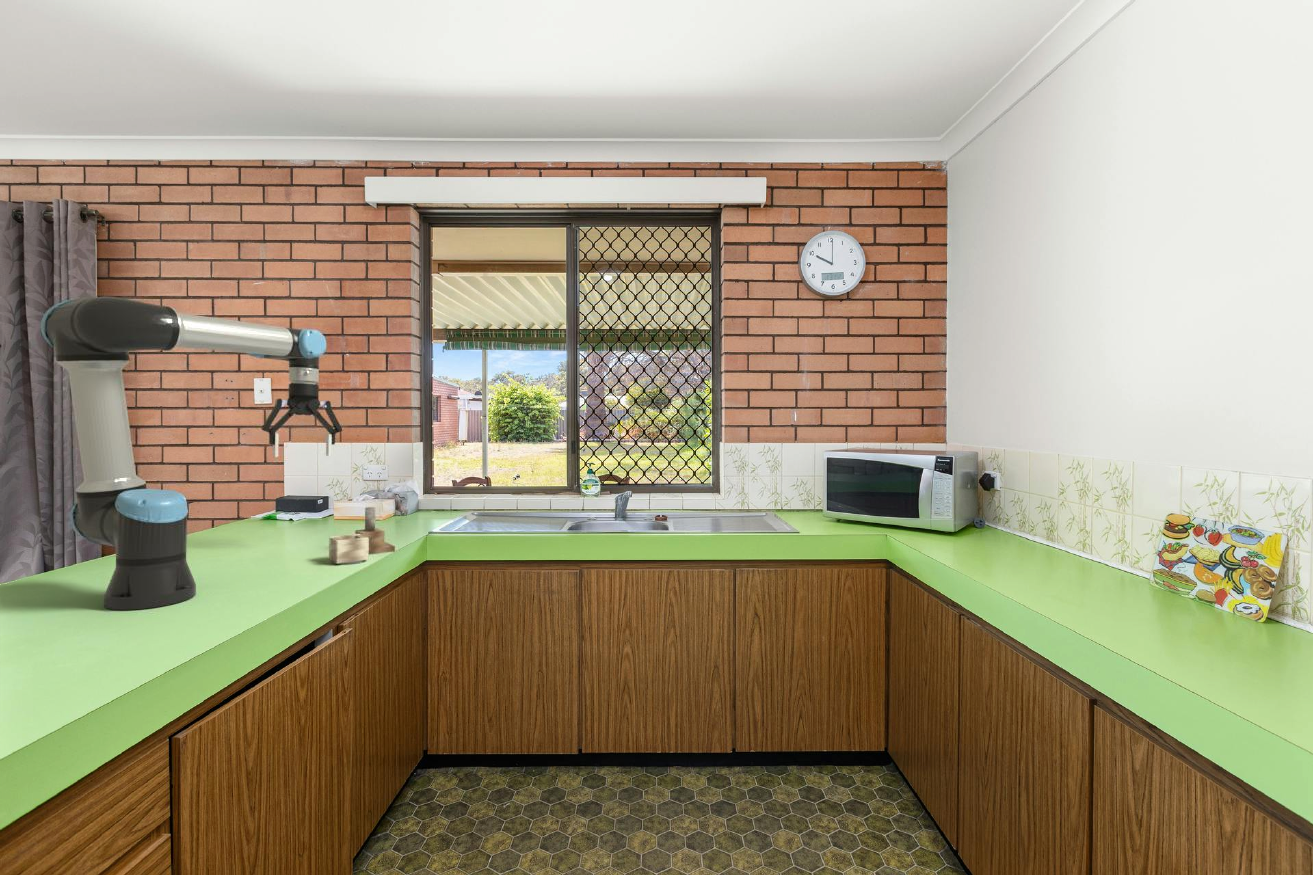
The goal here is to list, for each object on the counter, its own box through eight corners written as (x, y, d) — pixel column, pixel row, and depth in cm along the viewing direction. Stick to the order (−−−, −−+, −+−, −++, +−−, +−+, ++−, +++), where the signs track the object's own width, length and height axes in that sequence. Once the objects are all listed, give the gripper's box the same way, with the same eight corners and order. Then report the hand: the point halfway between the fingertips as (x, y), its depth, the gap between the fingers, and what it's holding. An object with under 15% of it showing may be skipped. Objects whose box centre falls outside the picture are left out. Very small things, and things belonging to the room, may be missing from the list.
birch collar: (337, 563, 162) (337, 541, 162) (328, 558, 168) (329, 536, 168) (368, 559, 167) (368, 538, 167) (359, 554, 173) (359, 533, 173)
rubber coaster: (335, 566, 161) (335, 563, 161) (326, 560, 168) (326, 557, 168) (371, 561, 167) (371, 559, 167) (360, 555, 174) (360, 553, 174)
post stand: (355, 555, 174) (356, 511, 174) (344, 549, 182) (345, 507, 182) (394, 551, 181) (395, 508, 181) (382, 545, 189) (382, 504, 189)
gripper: (255, 379, 162) (254, 457, 163) (354, 385, 179) (352, 456, 180) (250, 380, 168) (249, 455, 168) (346, 386, 185) (345, 454, 185)
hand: (302, 456), depth 174 cm, fingers open, 13 cm apart
